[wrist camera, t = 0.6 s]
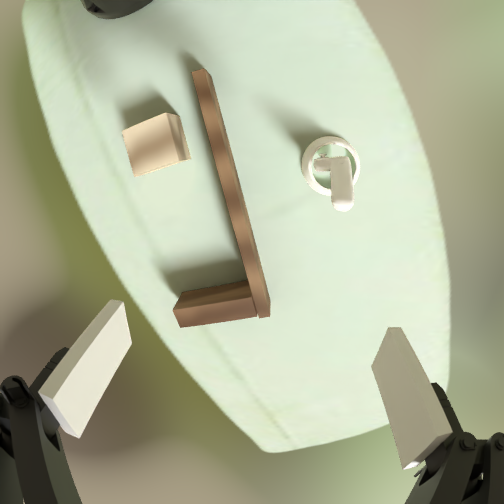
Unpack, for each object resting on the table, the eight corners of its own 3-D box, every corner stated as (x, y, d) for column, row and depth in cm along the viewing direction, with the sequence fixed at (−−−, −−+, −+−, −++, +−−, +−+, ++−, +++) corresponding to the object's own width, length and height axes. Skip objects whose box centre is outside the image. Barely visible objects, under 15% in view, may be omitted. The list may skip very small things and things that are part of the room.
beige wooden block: (139, 131, 33) (121, 131, 28) (179, 116, 32) (166, 112, 27) (151, 172, 35) (134, 177, 30) (191, 158, 34) (179, 161, 29)
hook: (304, 245, 32) (293, 204, 26) (306, 174, 38) (297, 134, 33) (369, 242, 30) (372, 199, 24) (358, 171, 36) (356, 129, 30)
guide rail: (125, 108, 32) (106, 105, 27) (211, 75, 30) (201, 66, 25) (191, 314, 43) (182, 333, 38) (270, 300, 41) (270, 320, 36)
